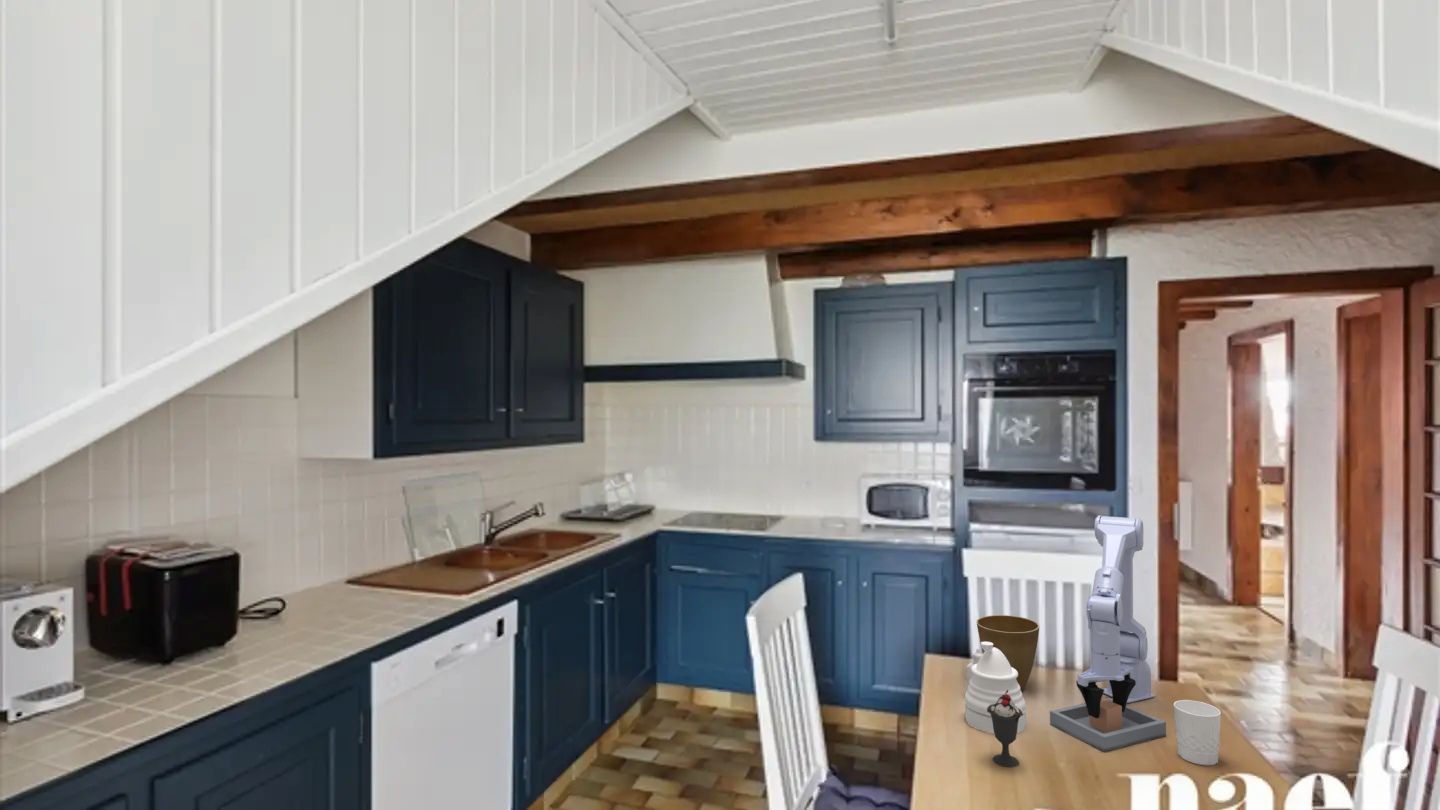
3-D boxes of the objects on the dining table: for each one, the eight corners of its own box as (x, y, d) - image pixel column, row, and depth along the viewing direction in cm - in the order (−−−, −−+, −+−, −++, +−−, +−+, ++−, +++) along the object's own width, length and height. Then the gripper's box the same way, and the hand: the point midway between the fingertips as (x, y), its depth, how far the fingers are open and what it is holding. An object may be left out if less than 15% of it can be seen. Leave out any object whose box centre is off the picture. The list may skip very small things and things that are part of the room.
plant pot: (1008, 671, 192) (1007, 611, 192) (1054, 691, 178) (1052, 626, 178) (965, 680, 186) (963, 619, 186) (1008, 701, 172) (1007, 635, 172)
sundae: (1008, 772, 139) (1006, 695, 139) (981, 758, 145) (979, 683, 145) (1031, 764, 142) (1029, 688, 142) (1003, 750, 148) (1002, 677, 148)
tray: (1109, 710, 166) (1108, 697, 166) (1166, 735, 153) (1165, 722, 153) (1050, 724, 160) (1049, 711, 160) (1104, 752, 147) (1104, 737, 147)
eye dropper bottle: (977, 692, 178) (976, 643, 179) (994, 700, 173) (993, 650, 173) (964, 695, 177) (963, 646, 177) (981, 703, 171) (980, 653, 172)
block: (1104, 720, 160) (1103, 698, 160) (1122, 729, 155) (1121, 706, 155) (1089, 724, 158) (1088, 701, 158) (1107, 733, 154) (1106, 709, 154)
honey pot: (995, 739, 153) (993, 655, 153) (953, 716, 165) (951, 638, 165) (1039, 727, 158) (1037, 646, 158) (995, 706, 170) (994, 630, 170)
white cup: (1214, 751, 146) (1213, 702, 146) (1227, 770, 139) (1226, 718, 139) (1170, 746, 149) (1169, 698, 149) (1180, 764, 141) (1179, 713, 141)
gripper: (1096, 661, 150) (1097, 726, 150) (1145, 652, 155) (1147, 714, 155) (1068, 651, 157) (1070, 713, 157) (1117, 642, 162) (1118, 702, 162)
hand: (1106, 713), depth 156 cm, fingers open, 7 cm apart
